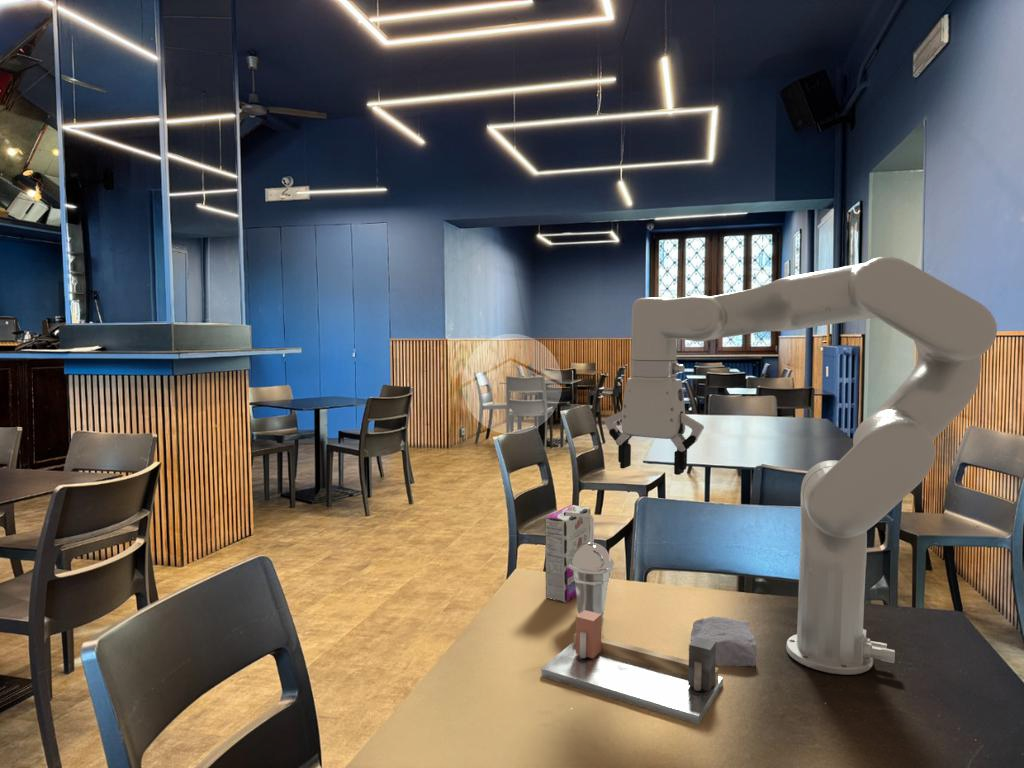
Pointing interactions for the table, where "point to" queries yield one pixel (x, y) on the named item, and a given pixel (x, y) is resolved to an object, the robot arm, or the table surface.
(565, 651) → the bolt plate
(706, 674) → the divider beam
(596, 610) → the domed lid cup
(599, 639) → the block
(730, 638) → the stone block
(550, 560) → the candy bar box
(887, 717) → the table surface
